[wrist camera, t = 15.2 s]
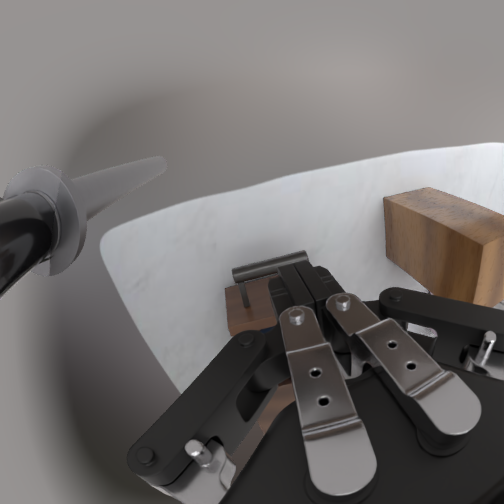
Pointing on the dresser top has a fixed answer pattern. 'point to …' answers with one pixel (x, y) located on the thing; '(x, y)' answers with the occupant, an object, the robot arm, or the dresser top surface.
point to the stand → (447, 245)
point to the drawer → (254, 294)
